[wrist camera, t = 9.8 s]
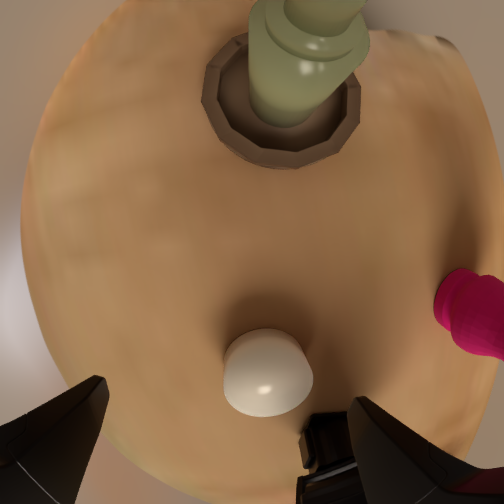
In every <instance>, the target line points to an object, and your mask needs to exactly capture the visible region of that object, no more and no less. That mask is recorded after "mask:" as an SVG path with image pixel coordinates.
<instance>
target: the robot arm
mask: <svg viewBox="0 0 504 504" xmlns="http://www.w3.org/2000/svg"><path fill="white" fill-rule="evenodd" d="M108 401H109V390H108V386H107V382H106V379H105V378H104V377H101V376H98V375H93V376H91V377H90V378H88V379H86V380H85V381H83V382H81V383H79V384H78V385H76V386H74V387H72V388H71V389H69V390H67V391H66V392H64V393H62V394H60V395H58V396H57V397H55V398H53V399H51V400H50V401H48V402H46V403H45V404H42V405H41V406H39V407H37V408H35V409H34V410H32V411H30V412H28V413H27V414H24V415H22V416H21V417H19V418H17V419H15V420H13V421H11V422H9V423H6V424H4V425H1V426H0V504H75V500H76V497H77V494H78V491H79V488H80V485H81V482H82V479H83V476H84V474H85V471H86V467H87V465H88V462H89V460H90V457H91V454H92V452H93V449H94V446H95V444H96V441H97V438H98V436H99V433H100V430H101V427H102V423H103V419H104V415H105V412H106V408H107V405H108ZM299 448H300V452H301V458H302V463H303V468H305V469H309V475H306V476H300V477H298V478H297V487H296V504H504V467H499V468H492V469H480V468H477V467H474V466H472V465H470V464H468V463H466V462H464V461H462V460H460V459H458V458H456V457H454V456H452V455H450V454H448V453H446V452H445V451H443V450H441V449H440V448H438V447H437V446H435V445H434V444H432V443H431V442H428V441H427V440H426V439H425V438H423V437H422V436H420V435H419V434H417V433H416V432H414V431H413V430H411V429H410V428H409V427H407V426H406V425H404V424H403V423H401V422H400V421H399V420H397V419H396V418H394V417H393V416H392V415H390V414H389V413H387V412H386V411H385V410H383V409H382V408H381V407H379V406H378V405H377V404H375V403H374V402H372V401H371V400H370V399H368V398H367V397H365V396H360V397H355V398H354V399H353V401H352V403H351V405H350V407H349V409H348V412H340V413H326V414H313V415H311V416H310V418H309V421H308V424H307V427H306V429H304V430H303V432H302V435H301V438H300V440H299Z"/></svg>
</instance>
